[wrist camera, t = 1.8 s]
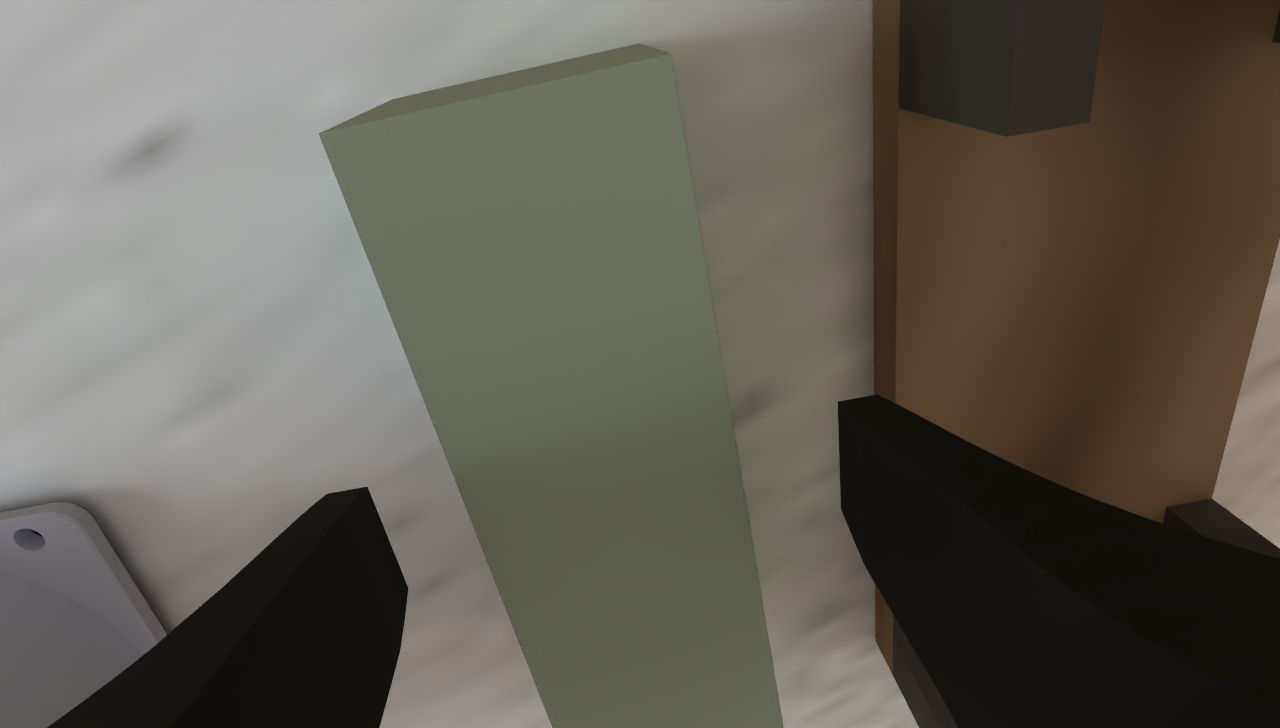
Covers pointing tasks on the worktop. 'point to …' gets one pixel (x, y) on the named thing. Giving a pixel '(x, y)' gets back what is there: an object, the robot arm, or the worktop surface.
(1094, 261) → the end cap cradle
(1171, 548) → the robot arm
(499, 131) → the stone
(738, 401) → the worktop surface
